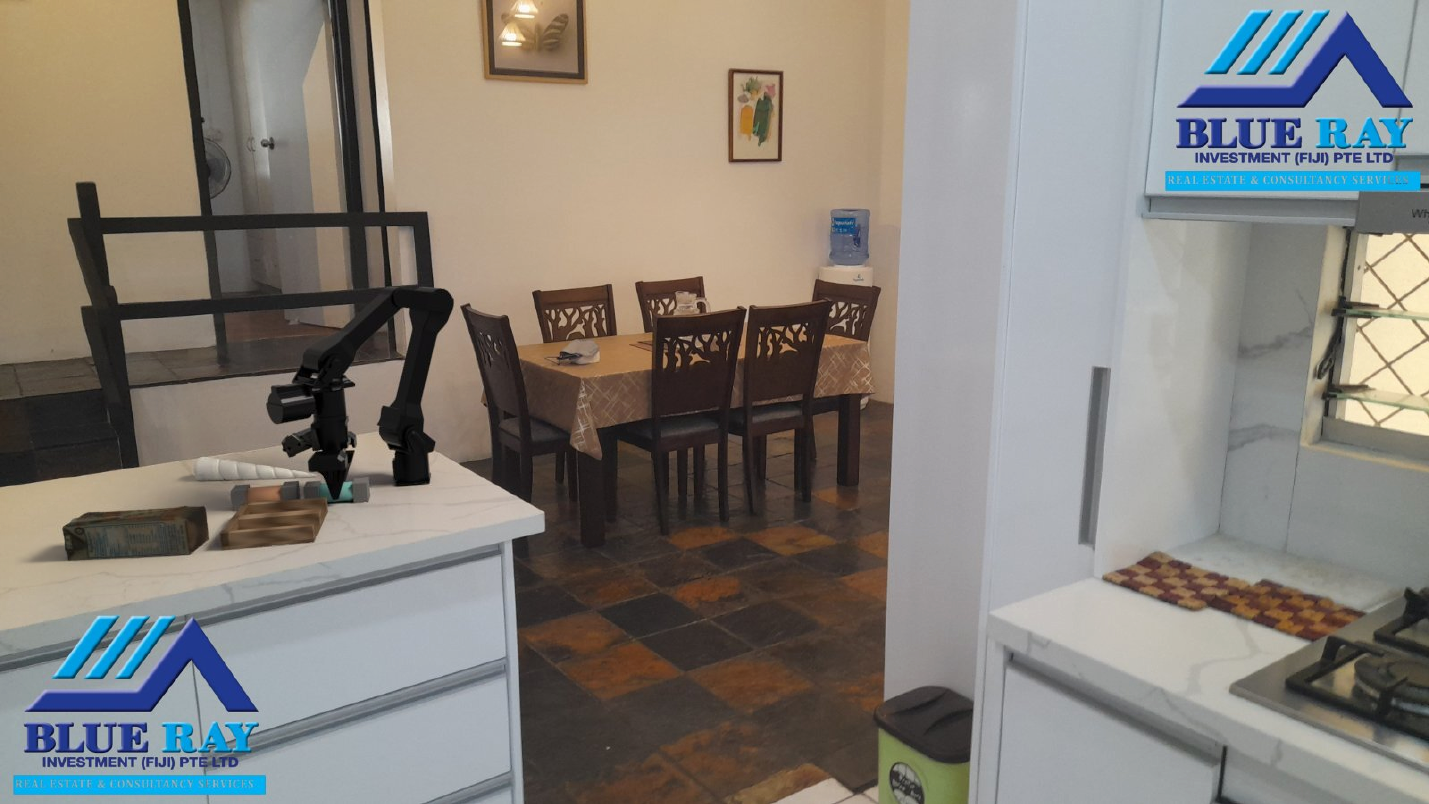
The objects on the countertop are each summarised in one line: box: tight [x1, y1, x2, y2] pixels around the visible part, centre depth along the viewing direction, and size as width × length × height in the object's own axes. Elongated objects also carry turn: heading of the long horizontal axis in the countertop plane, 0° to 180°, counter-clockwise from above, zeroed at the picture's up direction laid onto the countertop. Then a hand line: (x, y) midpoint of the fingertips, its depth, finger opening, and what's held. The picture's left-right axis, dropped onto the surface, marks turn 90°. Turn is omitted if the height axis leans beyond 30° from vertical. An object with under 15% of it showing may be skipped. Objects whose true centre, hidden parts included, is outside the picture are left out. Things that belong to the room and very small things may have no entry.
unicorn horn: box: [193, 456, 318, 482], centre depth 194 cm, size 5×24×5 cm, turn 88°
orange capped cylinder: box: [230, 480, 302, 512], centre depth 177 cm, size 11×4×4 cm, turn 104°
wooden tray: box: [219, 497, 329, 551], centre depth 164 cm, size 14×16×3 cm
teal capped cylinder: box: [302, 476, 371, 504], centre depth 179 cm, size 11×4×4 cm, turn 104°
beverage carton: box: [61, 505, 210, 562], centre depth 156 cm, size 8×19×7 cm, turn 97°
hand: (337, 495), depth 179 cm, fingers open, 5 cm apart
